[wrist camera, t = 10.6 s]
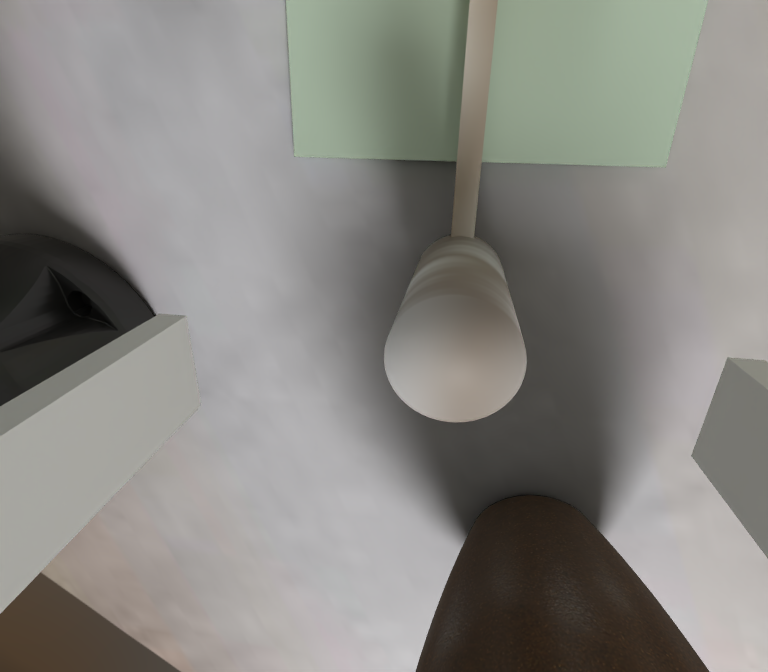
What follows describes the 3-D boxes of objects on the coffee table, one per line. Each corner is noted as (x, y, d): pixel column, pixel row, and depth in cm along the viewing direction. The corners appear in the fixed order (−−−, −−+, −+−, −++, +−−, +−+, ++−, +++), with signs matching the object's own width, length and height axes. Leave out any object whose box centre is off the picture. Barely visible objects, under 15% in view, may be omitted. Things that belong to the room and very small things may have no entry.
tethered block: (403, 313, 22) (366, 412, 14) (427, -261, 14) (375, -805, 6) (507, 321, 21) (533, 431, 13) (593, -279, 14) (784, -923, 5)
